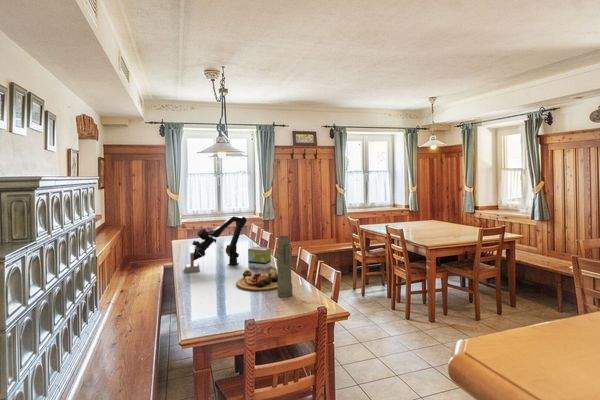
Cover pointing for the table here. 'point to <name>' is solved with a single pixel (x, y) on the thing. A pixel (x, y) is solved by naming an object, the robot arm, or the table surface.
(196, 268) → the box
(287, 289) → the grey-green tall block
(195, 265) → the cover plate
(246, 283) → the wooden plate with food
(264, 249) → the tea box
